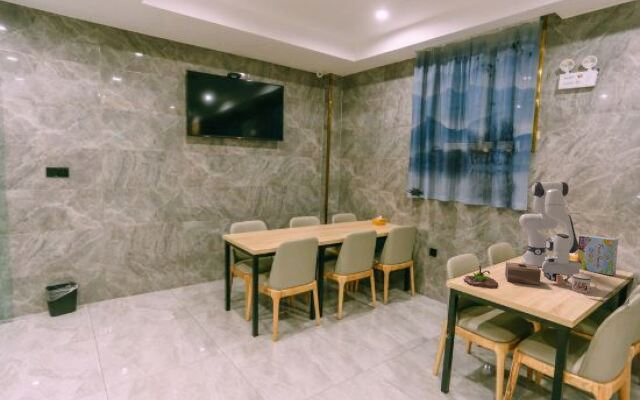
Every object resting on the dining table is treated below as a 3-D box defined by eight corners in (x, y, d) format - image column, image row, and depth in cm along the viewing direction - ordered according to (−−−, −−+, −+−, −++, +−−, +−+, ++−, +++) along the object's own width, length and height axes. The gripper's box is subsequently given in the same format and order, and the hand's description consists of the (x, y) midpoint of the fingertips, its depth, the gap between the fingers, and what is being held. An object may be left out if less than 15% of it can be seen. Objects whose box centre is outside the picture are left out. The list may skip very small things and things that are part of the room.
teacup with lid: (570, 291, 213) (571, 272, 212) (572, 287, 220) (573, 269, 219) (595, 295, 205) (597, 276, 205) (596, 292, 212) (598, 273, 212)
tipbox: (505, 276, 242) (506, 262, 241) (535, 279, 235) (536, 265, 235) (507, 282, 229) (508, 266, 228) (539, 285, 222) (540, 270, 222)
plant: (494, 281, 232) (495, 264, 231) (499, 290, 213) (501, 271, 213) (462, 277, 238) (462, 261, 237) (464, 286, 220) (465, 268, 219)
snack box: (616, 274, 254) (619, 238, 253) (611, 276, 250) (614, 240, 248) (580, 267, 272) (583, 234, 271) (576, 269, 267) (578, 235, 266)
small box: (560, 281, 235) (561, 265, 234) (549, 280, 236) (550, 264, 235) (553, 276, 245) (554, 261, 244) (542, 275, 246) (543, 260, 246)
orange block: (556, 282, 231) (556, 274, 231) (560, 282, 231) (561, 275, 230) (558, 284, 227) (558, 276, 226) (562, 284, 226) (563, 277, 226)
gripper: (578, 260, 227) (577, 281, 228) (541, 256, 234) (540, 277, 235) (582, 262, 221) (580, 284, 222) (543, 258, 228) (542, 280, 229)
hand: (559, 280), depth 229 cm, fingers open, 6 cm apart
